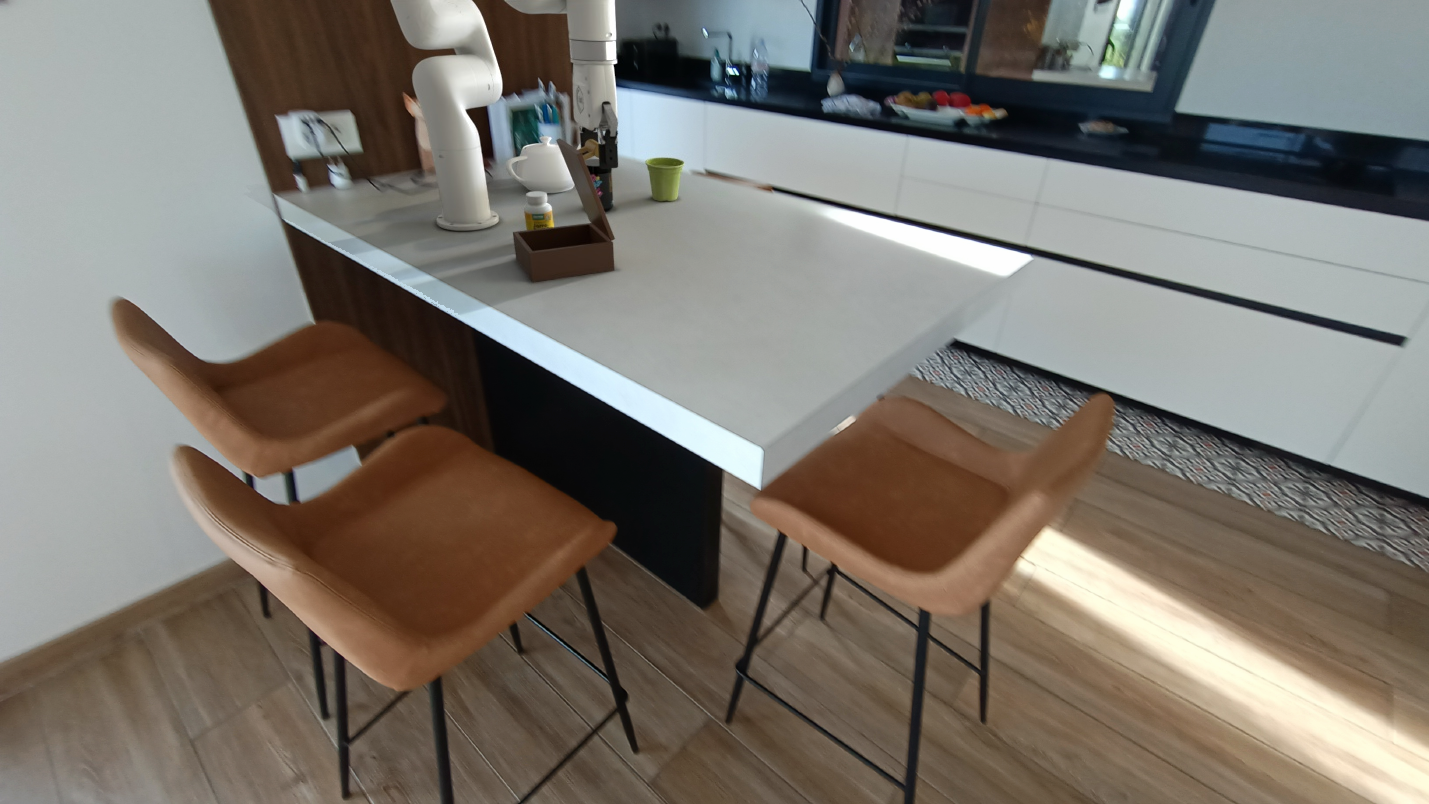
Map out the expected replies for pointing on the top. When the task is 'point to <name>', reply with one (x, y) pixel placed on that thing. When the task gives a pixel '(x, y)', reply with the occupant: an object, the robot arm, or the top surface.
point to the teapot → (542, 168)
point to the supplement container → (601, 183)
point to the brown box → (563, 251)
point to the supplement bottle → (538, 211)
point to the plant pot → (664, 177)
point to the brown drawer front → (586, 182)
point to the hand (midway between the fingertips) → (599, 161)
